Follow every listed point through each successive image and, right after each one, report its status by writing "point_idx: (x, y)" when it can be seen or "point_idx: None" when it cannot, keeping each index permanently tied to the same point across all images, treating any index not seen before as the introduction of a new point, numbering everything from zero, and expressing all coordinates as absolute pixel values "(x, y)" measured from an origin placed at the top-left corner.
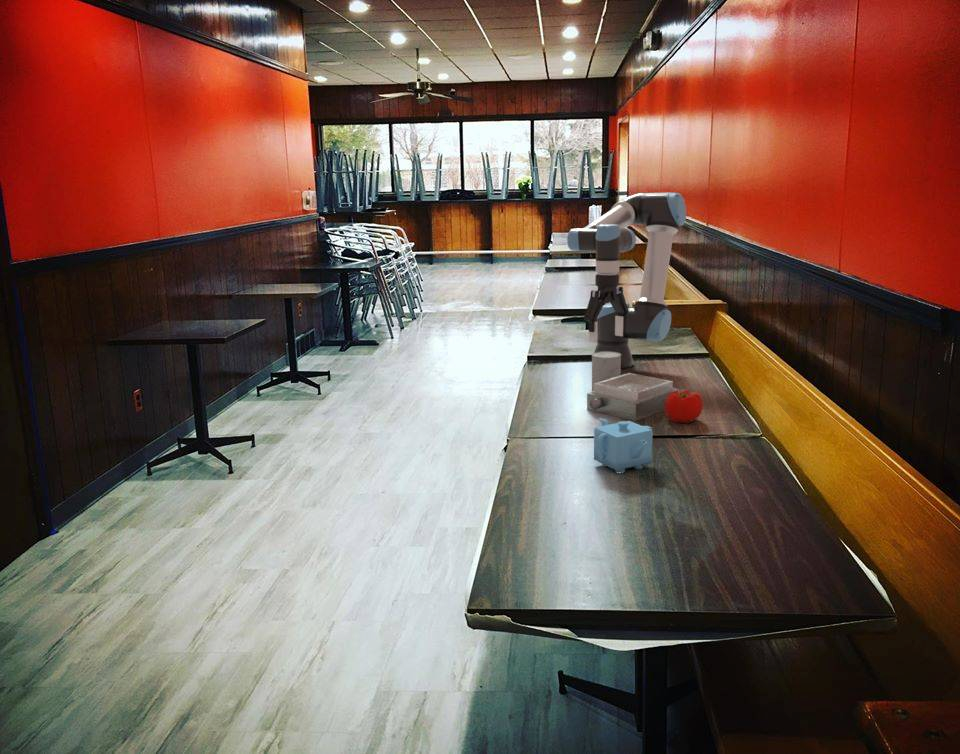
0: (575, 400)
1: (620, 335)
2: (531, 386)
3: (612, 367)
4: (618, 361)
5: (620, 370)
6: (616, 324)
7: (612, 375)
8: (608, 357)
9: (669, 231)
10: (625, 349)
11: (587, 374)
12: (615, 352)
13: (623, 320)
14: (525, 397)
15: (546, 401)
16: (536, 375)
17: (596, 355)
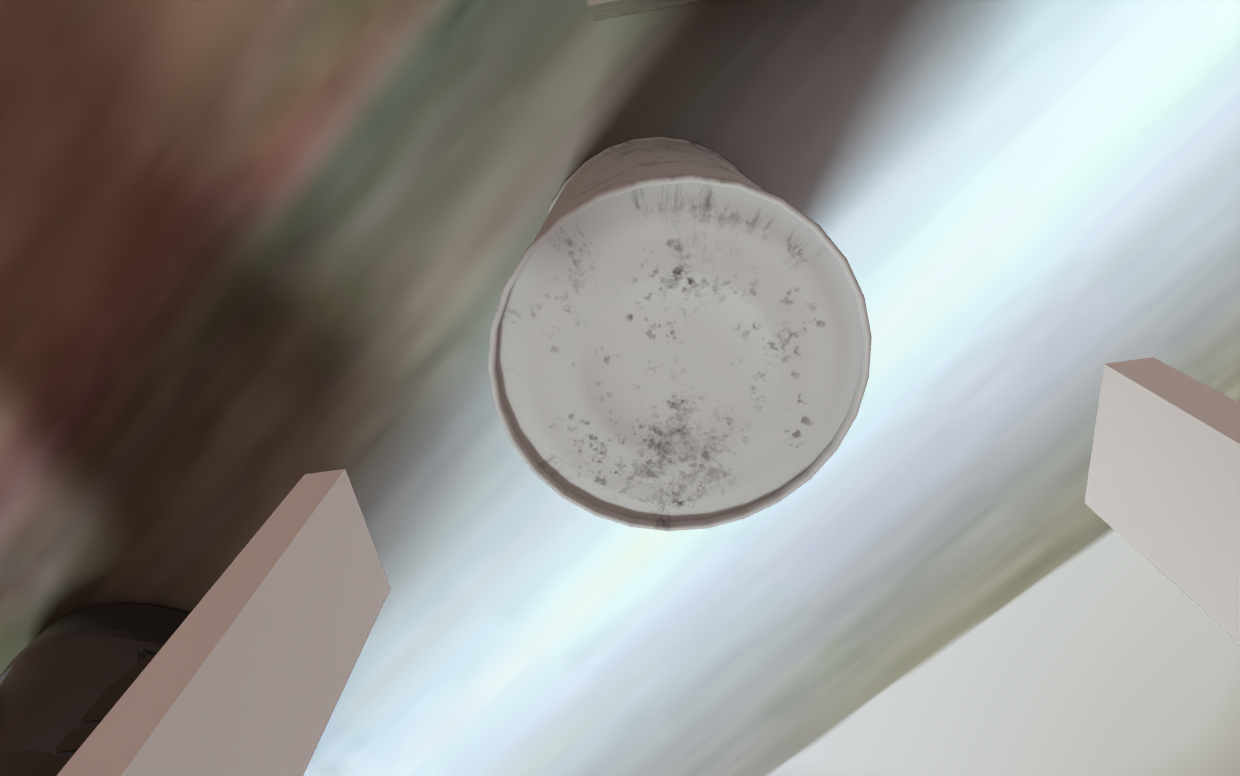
0: (1045, 195)
1: (347, 497)
2: (937, 631)
3: (728, 172)
4: (635, 176)
5: (572, 192)
6: (292, 741)
7: (713, 162)
8: (775, 242)
9: None
10: (22, 732)
11: (460, 634)
12: (499, 390)
13: (50, 765)
14: None
15: (1196, 315)
16: (723, 770)
17: (789, 425)
